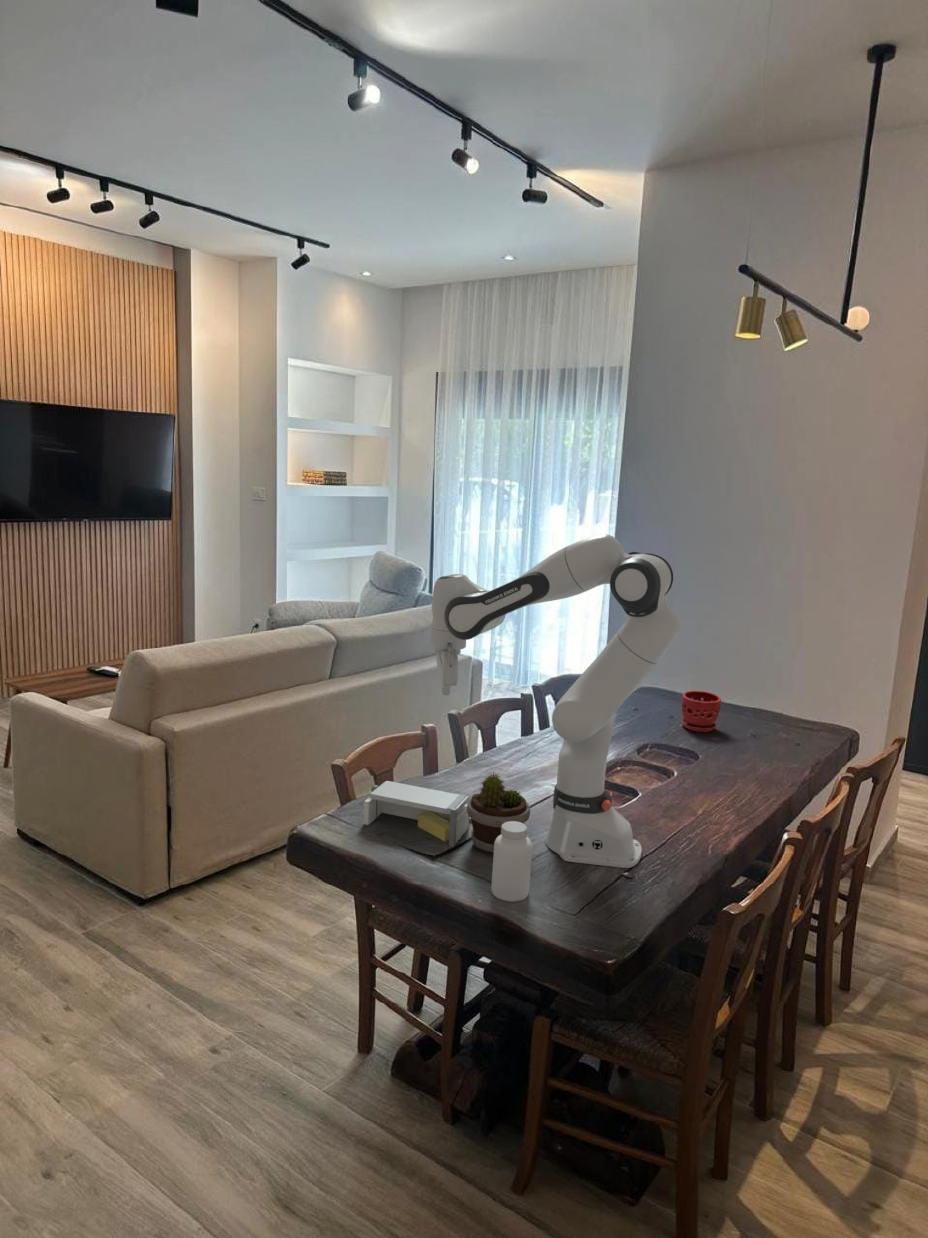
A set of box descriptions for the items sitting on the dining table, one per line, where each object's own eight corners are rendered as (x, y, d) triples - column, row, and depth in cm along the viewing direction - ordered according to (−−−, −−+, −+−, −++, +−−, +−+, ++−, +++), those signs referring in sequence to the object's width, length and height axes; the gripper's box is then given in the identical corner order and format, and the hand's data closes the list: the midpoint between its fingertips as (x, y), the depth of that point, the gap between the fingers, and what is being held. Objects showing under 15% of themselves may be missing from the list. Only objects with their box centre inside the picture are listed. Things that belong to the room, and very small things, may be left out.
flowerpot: (489, 826, 204) (493, 749, 200) (540, 847, 195) (546, 766, 191) (451, 846, 193) (455, 764, 189) (503, 868, 184) (509, 783, 180)
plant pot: (672, 723, 295) (675, 691, 292) (703, 721, 299) (707, 689, 296) (692, 735, 282) (696, 701, 280) (725, 733, 286) (729, 700, 284)
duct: (468, 828, 203) (470, 793, 201) (453, 846, 193) (455, 810, 191) (379, 810, 211) (380, 776, 209) (360, 827, 200) (361, 792, 199)
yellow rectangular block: (455, 838, 198) (456, 825, 197) (444, 842, 195) (445, 829, 195) (428, 823, 205) (429, 811, 204) (417, 827, 202) (418, 814, 202)
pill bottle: (497, 904, 169) (502, 836, 166) (486, 885, 176) (490, 819, 173) (534, 901, 171) (539, 833, 168) (521, 881, 178) (526, 816, 175)
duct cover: (468, 801, 202) (468, 795, 201) (455, 815, 193) (455, 809, 193) (379, 783, 209) (379, 778, 209) (363, 797, 201) (363, 791, 201)
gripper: (465, 649, 194) (462, 706, 196) (457, 631, 214) (454, 683, 216) (438, 648, 193) (435, 705, 196) (433, 630, 213) (430, 682, 216)
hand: (445, 693), depth 206 cm, fingers closed
